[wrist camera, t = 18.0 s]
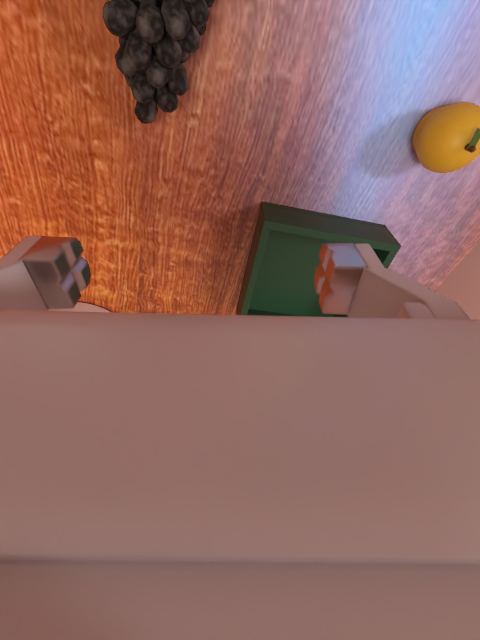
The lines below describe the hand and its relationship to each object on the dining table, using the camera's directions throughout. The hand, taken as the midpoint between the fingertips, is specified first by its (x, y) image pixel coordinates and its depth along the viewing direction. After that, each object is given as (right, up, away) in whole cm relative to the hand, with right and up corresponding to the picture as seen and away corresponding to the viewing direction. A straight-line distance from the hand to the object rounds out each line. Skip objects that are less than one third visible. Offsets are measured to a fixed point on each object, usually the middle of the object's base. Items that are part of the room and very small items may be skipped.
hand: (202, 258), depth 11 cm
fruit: (-5, +24, +15) cm, 29 cm away
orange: (+21, +17, +21) cm, 35 cm away
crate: (+10, +5, +32) cm, 34 cm away
